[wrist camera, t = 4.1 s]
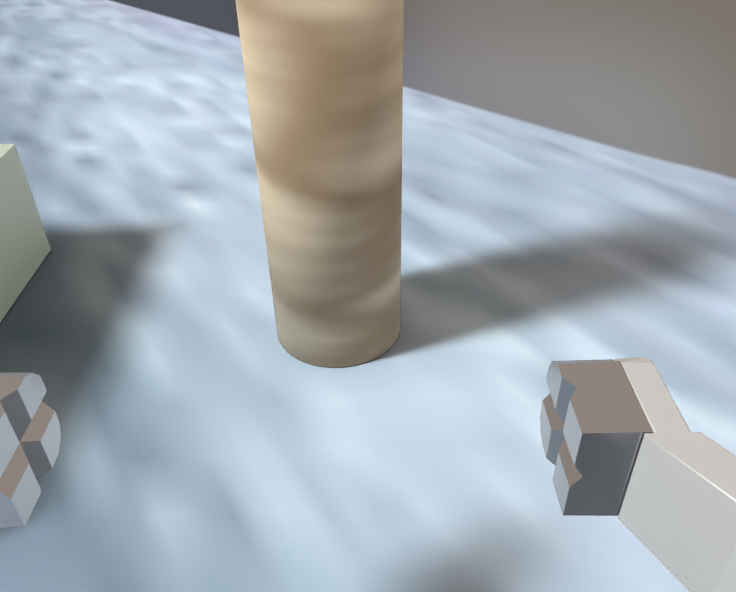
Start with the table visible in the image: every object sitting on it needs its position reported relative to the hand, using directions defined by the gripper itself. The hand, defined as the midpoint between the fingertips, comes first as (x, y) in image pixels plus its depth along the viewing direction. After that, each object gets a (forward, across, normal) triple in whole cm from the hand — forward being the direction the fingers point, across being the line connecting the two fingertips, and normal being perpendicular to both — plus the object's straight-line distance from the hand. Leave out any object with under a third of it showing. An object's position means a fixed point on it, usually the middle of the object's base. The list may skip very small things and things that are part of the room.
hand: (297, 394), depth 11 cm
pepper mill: (+12, 0, +8) cm, 14 cm away
